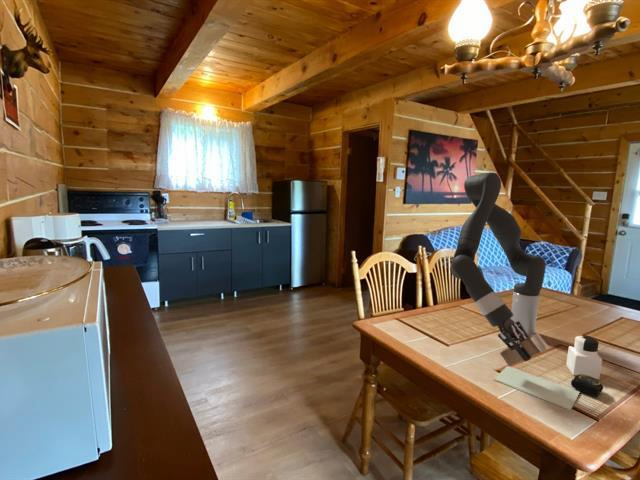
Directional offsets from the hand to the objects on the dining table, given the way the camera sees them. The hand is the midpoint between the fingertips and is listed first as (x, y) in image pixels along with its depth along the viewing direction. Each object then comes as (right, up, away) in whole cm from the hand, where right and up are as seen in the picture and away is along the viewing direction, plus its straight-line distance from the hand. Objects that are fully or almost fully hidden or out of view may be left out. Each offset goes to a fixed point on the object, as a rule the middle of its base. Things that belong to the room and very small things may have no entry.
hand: (530, 357), depth 106 cm
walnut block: (-5, -2, +5) cm, 7 cm away
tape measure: (+15, -10, -2) cm, 18 cm away
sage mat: (+1, -9, 0) cm, 9 cm away
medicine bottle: (+22, -8, +9) cm, 25 cm away
